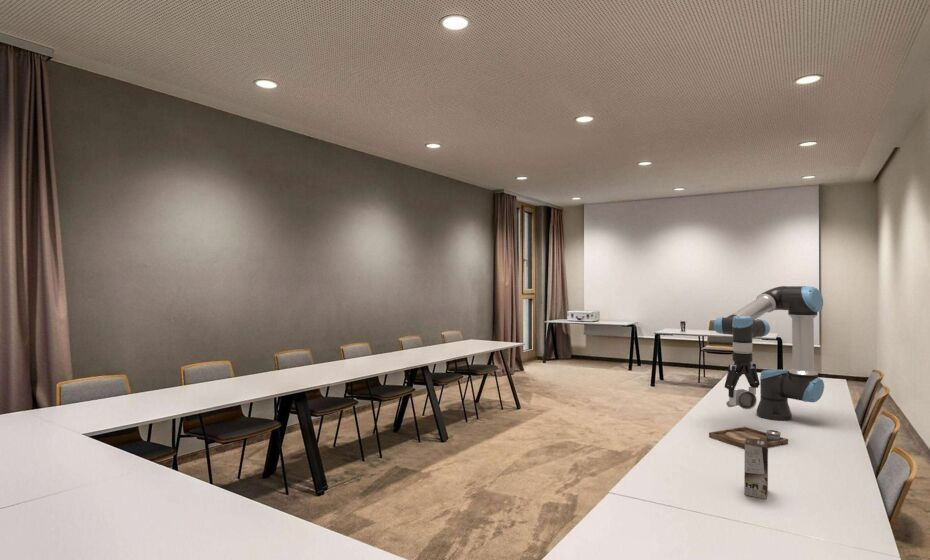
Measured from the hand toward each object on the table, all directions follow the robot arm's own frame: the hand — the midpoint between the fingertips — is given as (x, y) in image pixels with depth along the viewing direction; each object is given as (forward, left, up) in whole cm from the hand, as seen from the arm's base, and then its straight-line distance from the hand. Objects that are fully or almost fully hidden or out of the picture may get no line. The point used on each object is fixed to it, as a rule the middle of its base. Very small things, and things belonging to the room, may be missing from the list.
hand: (742, 403), depth 224 cm
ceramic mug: (0, 0, -2) cm, 2 cm away
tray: (0, +2, -15) cm, 15 cm away
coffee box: (+45, +41, -15) cm, 63 cm away
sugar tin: (-7, +9, -15) cm, 19 cm away
